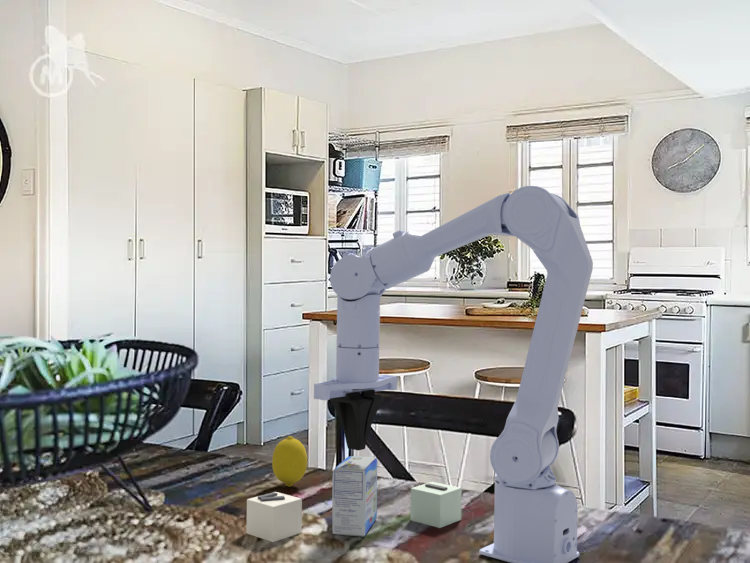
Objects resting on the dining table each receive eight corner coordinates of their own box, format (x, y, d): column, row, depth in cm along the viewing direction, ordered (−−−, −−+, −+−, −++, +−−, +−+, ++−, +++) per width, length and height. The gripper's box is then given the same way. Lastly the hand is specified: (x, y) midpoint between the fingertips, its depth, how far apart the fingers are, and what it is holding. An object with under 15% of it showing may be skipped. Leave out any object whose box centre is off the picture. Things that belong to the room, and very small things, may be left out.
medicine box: (364, 538, 101) (366, 470, 101) (331, 535, 101) (332, 468, 101) (377, 519, 108) (378, 456, 108) (345, 517, 109) (346, 454, 109)
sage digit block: (461, 520, 109) (461, 485, 109) (440, 528, 105) (440, 492, 105) (431, 513, 112) (432, 479, 112) (410, 520, 108) (410, 486, 108)
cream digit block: (301, 533, 102) (301, 496, 102) (272, 542, 98) (273, 504, 98) (274, 525, 105) (275, 489, 105) (246, 534, 102) (246, 497, 102)
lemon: (267, 484, 126) (268, 434, 126) (300, 480, 128) (300, 431, 128) (278, 492, 121) (278, 440, 121) (311, 489, 123) (312, 438, 123)
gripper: (370, 342, 113) (368, 436, 113) (297, 347, 102) (295, 452, 102) (409, 345, 108) (407, 443, 108) (337, 351, 97) (335, 461, 97)
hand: (356, 448), depth 105 cm, fingers closed
